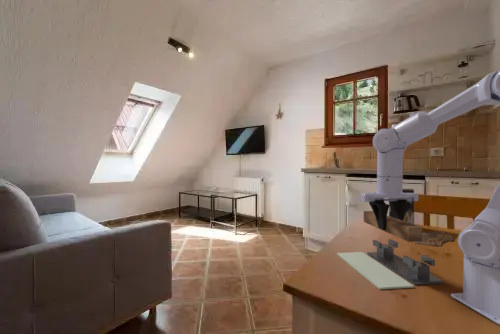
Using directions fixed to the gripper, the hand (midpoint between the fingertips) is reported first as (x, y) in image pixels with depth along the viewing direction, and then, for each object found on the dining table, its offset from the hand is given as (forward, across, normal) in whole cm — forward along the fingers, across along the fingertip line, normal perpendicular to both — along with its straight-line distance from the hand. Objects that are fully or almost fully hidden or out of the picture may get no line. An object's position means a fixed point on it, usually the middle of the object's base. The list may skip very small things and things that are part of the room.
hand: (388, 228), depth 63 cm
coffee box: (+10, -32, -37) cm, 50 cm away
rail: (0, 0, 0) cm, 0 cm away
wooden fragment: (+11, -33, -22) cm, 41 cm away
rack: (+10, -3, 0) cm, 10 cm away
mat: (+10, +5, 0) cm, 11 cm away
